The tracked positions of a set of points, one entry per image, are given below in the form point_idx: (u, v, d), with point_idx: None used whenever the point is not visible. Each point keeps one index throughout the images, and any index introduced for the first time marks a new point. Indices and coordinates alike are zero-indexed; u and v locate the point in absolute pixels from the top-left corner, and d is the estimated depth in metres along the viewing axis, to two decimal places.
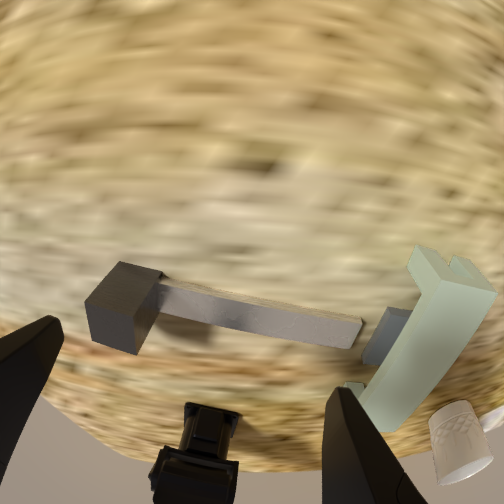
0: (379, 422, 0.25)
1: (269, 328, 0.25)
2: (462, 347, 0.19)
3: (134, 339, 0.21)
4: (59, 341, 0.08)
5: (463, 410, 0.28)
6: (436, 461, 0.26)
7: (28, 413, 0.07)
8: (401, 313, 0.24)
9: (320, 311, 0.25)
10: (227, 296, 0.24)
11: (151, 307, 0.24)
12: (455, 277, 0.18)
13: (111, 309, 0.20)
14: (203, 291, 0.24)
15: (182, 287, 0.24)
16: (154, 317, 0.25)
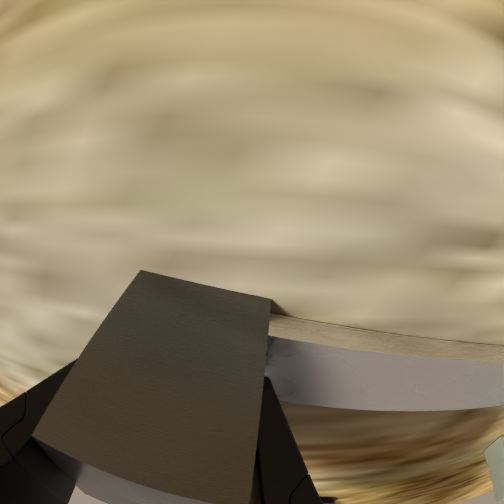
0: None
1: (475, 397, 0.09)
2: None
3: None
4: None
5: None
6: None
7: None
8: None
9: None
10: (434, 351, 0.09)
11: None
12: None
13: (144, 484, 0.04)
14: (386, 348, 0.09)
15: (334, 341, 0.08)
16: None
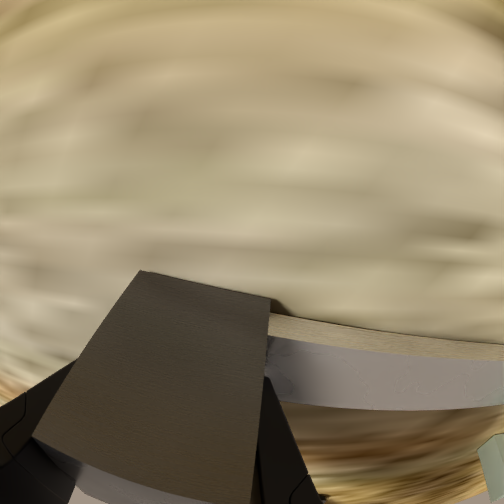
0: None
1: (475, 396, 0.09)
2: None
3: None
4: None
5: None
6: None
7: None
8: None
9: None
10: (433, 351, 0.09)
11: None
12: None
13: (145, 483, 0.04)
14: (386, 347, 0.09)
15: (333, 340, 0.09)
16: None
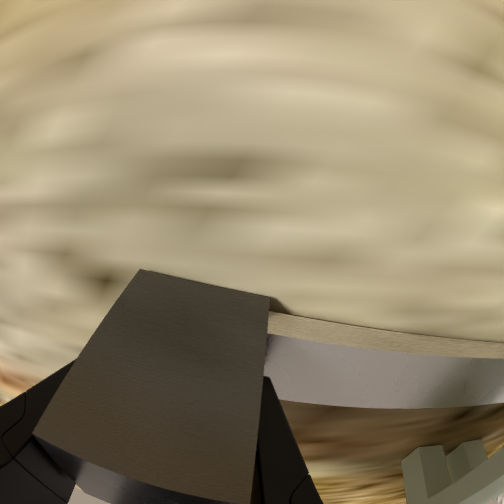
0: None
1: (474, 394, 0.09)
2: None
3: None
4: None
5: None
6: None
7: None
8: None
9: None
10: (432, 348, 0.09)
11: None
12: None
13: (146, 480, 0.04)
14: (385, 345, 0.09)
15: (332, 338, 0.09)
16: None
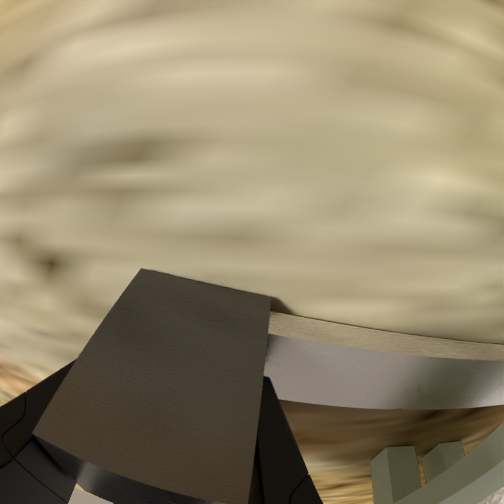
0: None
1: (475, 395, 0.09)
2: None
3: None
4: None
5: None
6: None
7: None
8: None
9: None
10: (434, 350, 0.09)
11: None
12: None
13: (144, 481, 0.04)
14: (386, 346, 0.09)
15: (334, 339, 0.09)
16: None
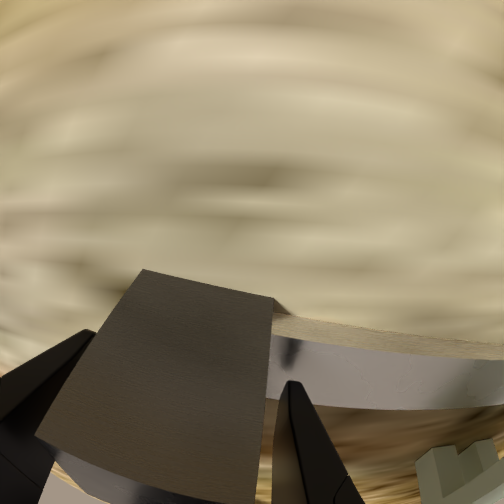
0: None
1: (476, 395, 0.09)
2: None
3: None
4: None
5: None
6: None
7: None
8: None
9: None
10: (435, 350, 0.09)
11: None
12: None
13: (149, 483, 0.04)
14: (388, 346, 0.09)
15: (336, 340, 0.09)
16: None
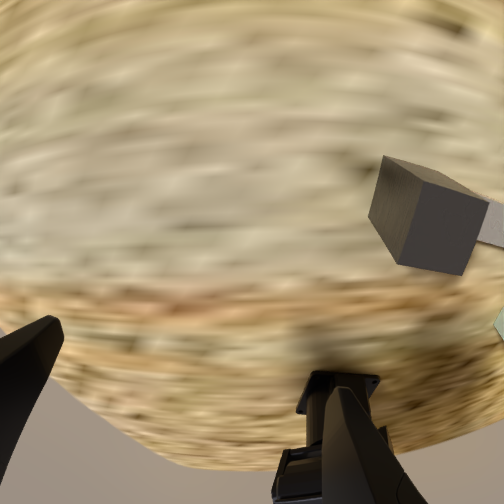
0: None
1: None
2: None
3: (473, 244, 0.12)
4: (59, 341, 0.08)
5: None
6: None
7: (28, 413, 0.07)
8: None
9: None
10: (501, 203, 0.16)
11: None
12: None
13: (463, 193, 0.11)
14: (484, 196, 0.16)
15: None
16: None
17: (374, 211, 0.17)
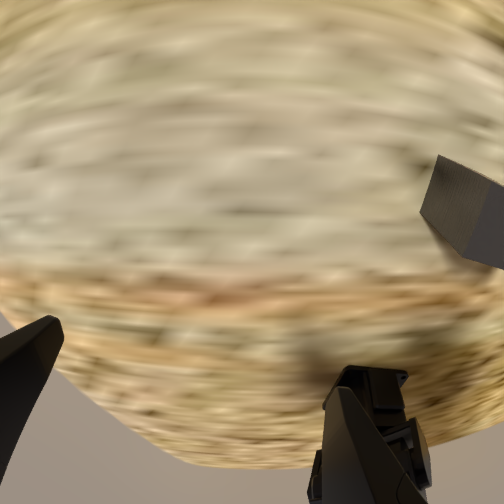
0: None
1: None
2: None
3: None
4: (59, 341, 0.08)
5: None
6: None
7: (28, 413, 0.07)
8: None
9: None
10: None
11: None
12: None
13: None
14: None
15: None
16: None
17: (428, 207, 0.17)
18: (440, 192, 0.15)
